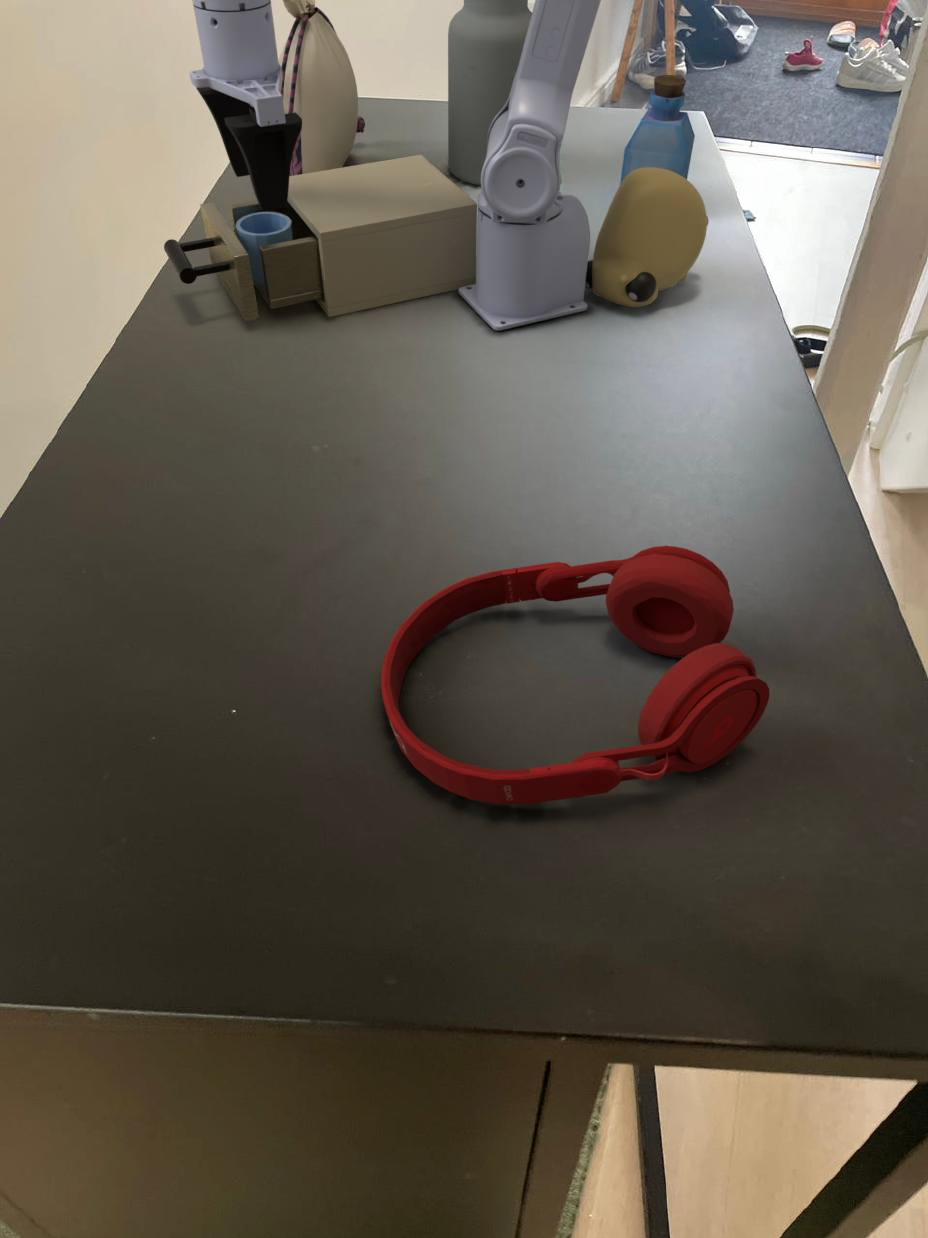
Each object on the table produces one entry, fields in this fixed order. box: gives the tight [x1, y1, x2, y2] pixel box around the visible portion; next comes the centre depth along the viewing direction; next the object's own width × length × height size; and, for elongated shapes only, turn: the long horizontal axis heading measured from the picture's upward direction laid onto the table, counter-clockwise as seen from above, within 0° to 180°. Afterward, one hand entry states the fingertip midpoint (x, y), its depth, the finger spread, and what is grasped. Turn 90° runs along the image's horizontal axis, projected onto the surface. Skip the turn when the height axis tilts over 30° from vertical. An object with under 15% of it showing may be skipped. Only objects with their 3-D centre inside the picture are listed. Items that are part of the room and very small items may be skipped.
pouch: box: [278, 0, 366, 176], centre depth 95 cm, size 25×8×19 cm, turn 171°
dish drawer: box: [163, 199, 324, 322], centre depth 82 cm, size 18×11×6 cm, turn 115°
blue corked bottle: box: [619, 74, 696, 185], centre depth 95 cm, size 6×6×12 cm
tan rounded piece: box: [585, 167, 710, 308], centre depth 82 cm, size 10×12×11 cm
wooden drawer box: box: [287, 154, 478, 318], centre depth 85 cm, size 15×13×8 cm
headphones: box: [380, 545, 770, 805], centre depth 50 cm, size 15×7×20 cm
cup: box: [236, 212, 294, 285], centre depth 81 cm, size 5×5×4 cm
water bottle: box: [447, 0, 533, 187], centre depth 95 cm, size 10×10×28 cm
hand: (260, 190), depth 78 cm, fingers open, 7 cm apart
